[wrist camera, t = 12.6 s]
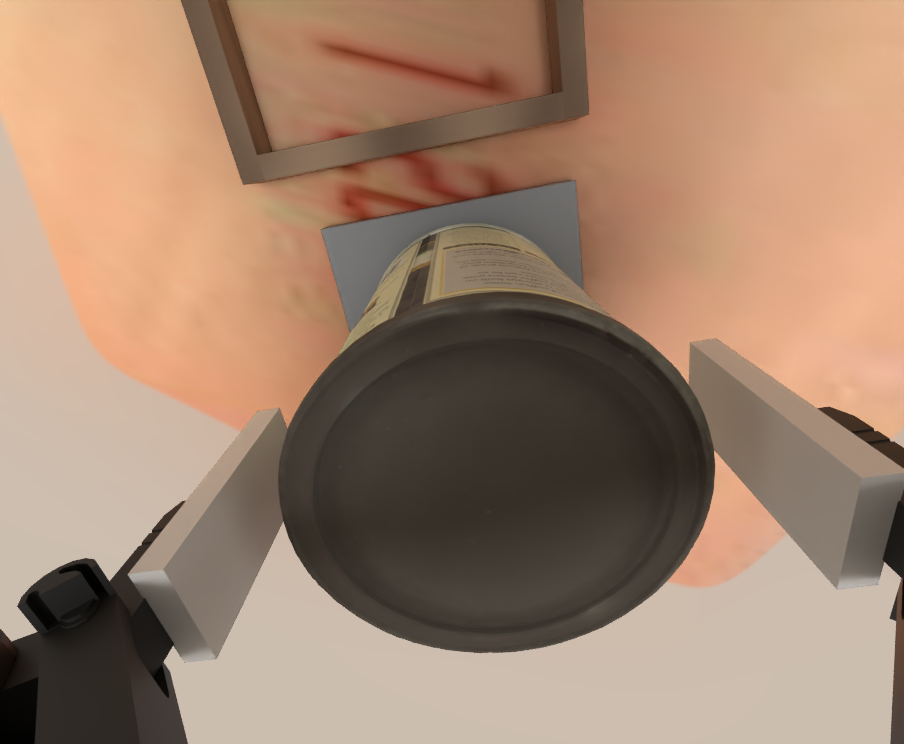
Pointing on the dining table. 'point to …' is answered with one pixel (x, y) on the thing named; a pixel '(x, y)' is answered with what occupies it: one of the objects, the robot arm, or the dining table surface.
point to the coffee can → (493, 454)
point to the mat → (382, 238)
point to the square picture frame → (263, 165)
